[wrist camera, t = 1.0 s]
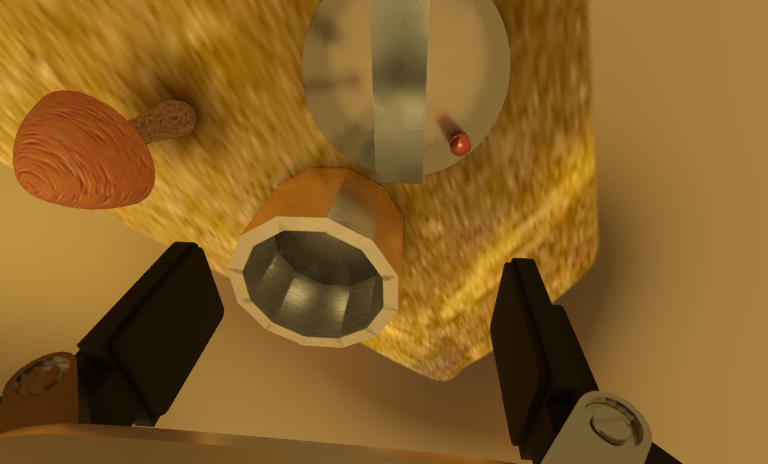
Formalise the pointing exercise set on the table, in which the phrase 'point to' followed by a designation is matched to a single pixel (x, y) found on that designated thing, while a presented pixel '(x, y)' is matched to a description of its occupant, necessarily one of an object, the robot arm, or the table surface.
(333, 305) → the pot
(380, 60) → the lid
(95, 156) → the mushroom
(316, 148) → the table surface
